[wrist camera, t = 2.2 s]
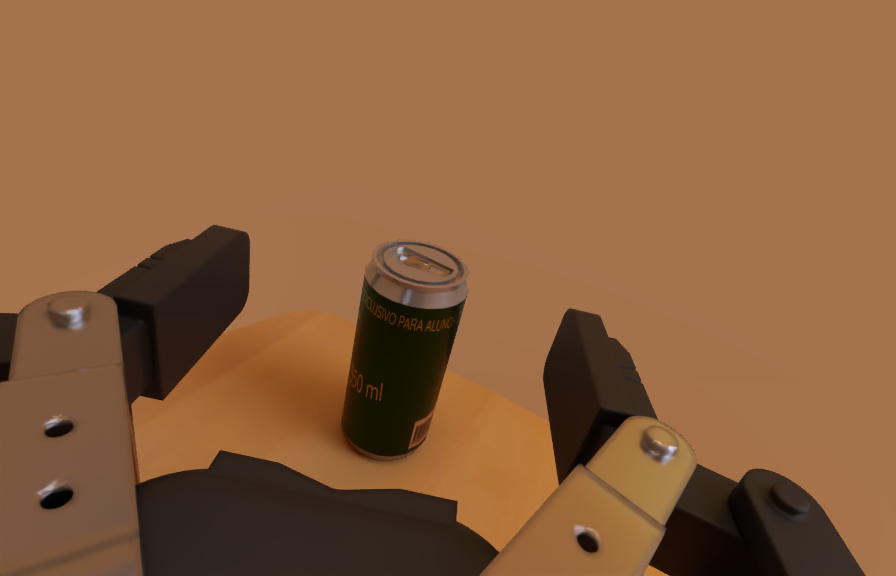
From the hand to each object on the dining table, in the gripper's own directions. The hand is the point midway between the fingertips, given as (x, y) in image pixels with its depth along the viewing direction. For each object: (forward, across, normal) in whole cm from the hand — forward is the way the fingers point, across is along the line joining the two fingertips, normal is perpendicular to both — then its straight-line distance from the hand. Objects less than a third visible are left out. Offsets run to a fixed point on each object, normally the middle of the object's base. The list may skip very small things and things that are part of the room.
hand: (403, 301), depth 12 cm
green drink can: (+11, 0, +17) cm, 20 cm away
